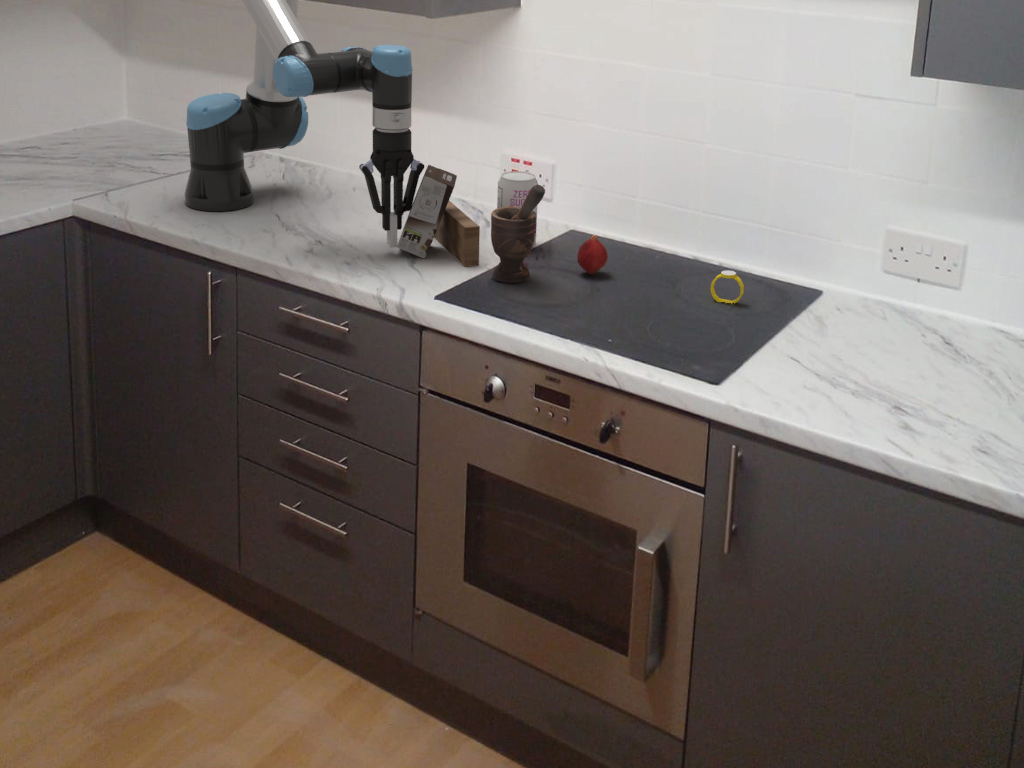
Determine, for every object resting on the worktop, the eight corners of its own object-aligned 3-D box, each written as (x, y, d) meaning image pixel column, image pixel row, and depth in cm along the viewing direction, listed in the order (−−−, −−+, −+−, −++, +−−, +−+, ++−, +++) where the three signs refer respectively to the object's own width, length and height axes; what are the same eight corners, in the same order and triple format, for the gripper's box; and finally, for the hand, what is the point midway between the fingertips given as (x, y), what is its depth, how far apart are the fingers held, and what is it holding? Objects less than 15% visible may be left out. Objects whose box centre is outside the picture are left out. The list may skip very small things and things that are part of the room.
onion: (584, 280, 237) (586, 241, 233) (571, 271, 241) (573, 232, 238) (611, 277, 239) (613, 238, 236) (597, 268, 244) (600, 229, 240)
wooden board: (427, 230, 262) (427, 194, 258) (440, 229, 263) (440, 193, 259) (464, 266, 242) (465, 227, 238) (478, 265, 243) (479, 226, 239)
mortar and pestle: (555, 279, 237) (560, 178, 228) (534, 292, 230) (539, 189, 222) (502, 268, 242) (506, 169, 233) (481, 280, 235) (483, 178, 226)
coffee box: (425, 259, 245) (454, 187, 238) (395, 247, 244) (423, 174, 237) (430, 245, 253) (458, 175, 246) (401, 233, 252) (428, 162, 246)
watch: (709, 303, 229) (710, 273, 226) (712, 298, 231) (713, 268, 229) (740, 306, 227) (742, 276, 224) (743, 301, 229) (745, 271, 227)
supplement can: (515, 237, 259) (518, 168, 253) (543, 247, 254) (546, 176, 248) (487, 245, 254) (489, 174, 248) (515, 255, 249) (518, 183, 243)
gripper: (364, 134, 231) (365, 253, 241) (429, 131, 236) (428, 248, 245) (354, 125, 238) (356, 242, 247) (418, 123, 242) (417, 237, 252)
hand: (392, 245), depth 246 cm, fingers closed
